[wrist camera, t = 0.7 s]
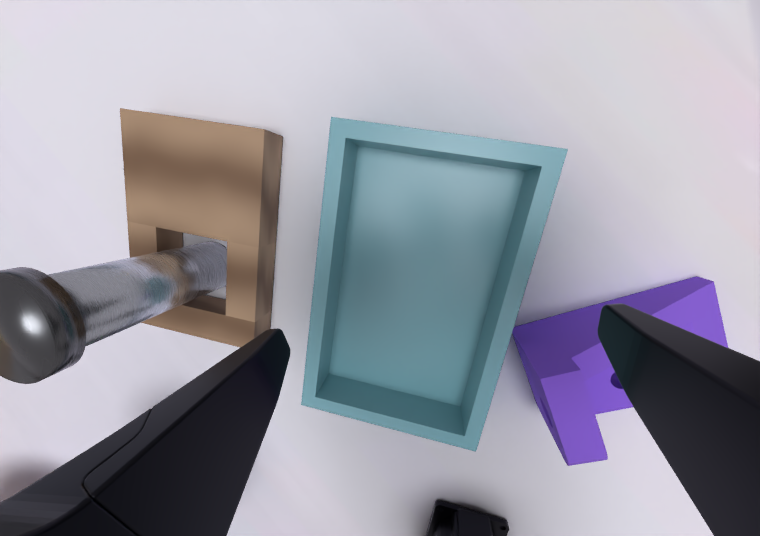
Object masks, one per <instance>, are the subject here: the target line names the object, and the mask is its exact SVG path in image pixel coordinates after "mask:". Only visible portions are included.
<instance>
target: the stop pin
mask: <svg viewBox="0 0 760 536" xmlns="http://www.w3.org/2000/svg"><path fill="white" fill-rule="evenodd" d="M226 278H227V249H226V248H225V247H224V246H223V245H221V244H219V243H216V242H205V243H200V244H195V245H190V246H185V247H180V248H176V249H171V250H166V251H161V252H156V253H151V254H146V255H142V256H137V257H132V258H127V259H122V260H117V261H112V262H108V263H103V264H98V265H93V266H88V267H83V268H79V269H74V270H69V271H64V272H59V273H54V274H49V275H46V274H45V273H43V272H40V271H38V270H35V269H32V268H26V267H18V268H12V269H7V270H1V271H0V376H2V377H4V378H6V379H8V380H11V381H13V382H17V383H23V384H31V383H36V382H39V381H41V380H43V379H45V378H47V377H49V376H51V375H53V374H56V373H58V372H60V371H62V370H64V369H66V368H68V367H70V366H73V365H74V364H75V363H77V362H78V361H79V359H80V358H81V356H82V355H83V352H84V350H85V346H88V345H90V344H92V343H95V342H97V341H99V340H102V339H104V338H106V337H108V336H111V335H113V334H115V333H118V332H120V331H122V330H125V329H127V328H129V327H131V326H134V325H136V324H138V323H141V322H143V321H145V320H147V319H150V318H152V317H154V316H157V315H159V314H161V313H164V312H166V311H168V310H170V309H173V308H175V307H177V306H180V305H182V304H184V303H187V302H189V301H191V300H193V299H196V298H198V297H200V296H203V295H205V294H207V293H210V292H212V291H214V290H216V289H219V288H221V287H223V286H226Z"/></svg>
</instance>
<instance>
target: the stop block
mask: <svg viewBox="0 0 760 536" xmlns="http://www.w3.org/2000/svg"><path fill="white" fill-rule="evenodd" d="M120 117H121V132H122V146H123V161H124V176H125V191H126V206H127V220H128V235H129V250H130V258H132V257H137V256H142V255H146V254H151V253H156V252H161V251H166V250H171V249H176V248H180V247H183V233H188V234H193V235H198V236H203V237H208V238H213V239H218V240H223V241H227V278H226V300H224V299H219V298H215V297H211V296H206V295H203V296H200V297H198V298H196V299H193V300H191V301H189V302H187V303H184V304H182V305H180V306H177V307H175V308H173V309H170V310H168V311H166V312H164V313H161V314H159V315H157V316H154V317H152V318H150V319H147V320H145V321H143V322H141V323H145V324H149V325H153V326H157V327H161V328H165V329H169V330H173V331H177V332H181V333H185V334H189V335H193V336H197V337H201V338H205V339H209V340H213V341H217V342H221V343H225V344H229V345H233V346H237V347H242V346H244V345H245V344H247V343H248V342H249V341H251V340H252V339H254V338H255V337H257V336H258V335H260V334H261V333H263V332H264V331H266V330H268V329H270V325H271V310H272V295H273V279H274V264H275V249H276V234H277V219H278V203H279V188H280V173H281V158H282V142H283V137H282V136H280V135H277V134H275V133H272V132H270V131H267V130H265V129H258V128H251V127H244V126H238V125H231V124H224V123H217V122H210V121H203V120H196V119H190V118H183V117H176V116H169V115H162V114H155V113H148V112H142V111H135V110H128V109H121V108H120Z"/></svg>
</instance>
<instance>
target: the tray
mask: <svg viewBox="0 0 760 536" xmlns="http://www.w3.org/2000/svg"><path fill="white" fill-rule="evenodd" d="M567 151H568V149H563V148H556V147H549V146H541V145H534V144H526V143H519V142H512V141H504V140H497V139H490V138H482V137H475V136H468V135H460V134H453V133H446V132H438V131H431V130H424V129H416V128H409V127H402V126H394V125H387V124H379V123H372V122H365V121H357V120H350V119H343V118H335V117H331V123H330V133H329V142H328V152H327V162H326V171H325V181H324V191H323V200H322V210H321V219H320V229H319V239H318V248H317V258H316V268H315V277H314V287H313V297H312V306H311V316H310V325H309V335H308V345H307V354H306V364H305V374H304V383H303V393H302V402H301V405H304V406H308V407H312V408H315V409H319V410H323V411H326V412H330V413H334V414H338V415H341V416H345V417H349V418H353V419H356V420H360V421H364V422H367V423H371V424H375V425H379V426H382V427H386V428H390V429H394V430H397V431H401V432H405V433H409V434H412V435H416V436H420V437H423V438H427V439H431V440H435V441H438V442H442V443H446V444H450V445H453V446H457V447H461V448H465V449H468V450H472V451H476V450H477V446H478V443H479V440H480V436H481V433H482V430H483V427H484V423H485V420H486V417H487V413H488V410H489V407H490V404H491V400H492V397H493V394H494V390H495V387H496V384H497V381H498V377H499V374H500V371H501V367H502V364H503V361H504V358H505V354H506V351H507V348H508V344H509V341H510V338H511V335H512V331H513V328H514V325H515V321H516V318H517V315H518V312H519V308H520V305H521V302H522V298H523V295H524V292H525V289H526V285H527V282H528V279H529V275H530V272H531V269H532V266H533V262H534V259H535V256H536V252H537V249H538V246H539V243H540V239H541V236H542V233H543V229H544V226H545V223H546V220H547V216H548V213H549V210H550V206H551V203H552V200H553V197H554V193H555V190H556V187H557V183H558V180H559V177H560V174H561V170H562V167H563V164H564V160H565V157H566V154H567Z"/></svg>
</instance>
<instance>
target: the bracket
mask: <svg viewBox="0 0 760 536" xmlns="http://www.w3.org/2000/svg"><path fill="white" fill-rule="evenodd" d="M619 303H622V304H626V305H628V306H630V307H633V308H635V309H637V310H640V311H642V312H645V313H647V314H649V315H652V316H654V317H656V318H659V319H661V320H663V321H666V322H668V323H670V324H673V325H675V326H677V327H680V328H682V329H685V330H687V331H689V332H692V333H694V334H696V335H699V336H701V337H703V338H706V339H708V340H710V341H713V342H715V343H717V344H720V345H722V346H725V347H727V348H728V345H727V340H726V336H725V331H724V327H723V322H722V317H721V313H720V308H719V304H718V299H717V295H716V290H715V285H714V282H713V281H710V280H707V279H704V278H700V277H693V278H689V279H686V280H682V281H679V282H675V283H671V284H668V285H664V286H661V287H657V288H653V289H650V290H646V291H643V292H639V293H635V294H632V295H628V296H624V297H621V298H617V299H614V300H610V301H606V302H603V303H599V304H596V305H592V306H588V307H585V308H581V309H577V310H574V311H570V312H567V313H563V314H559V315H556V316H552V317H549V318H545V319H541V320H538V321H534V322H530V323H527V324H523V325H520V326H516V327H514V328H513V331H512V334H513V337H514V340H515V343H516V345H517V348H518V351H519V354H520V357H521V360H522V363H523V366H524V369H525V371H526V374H527V377H528V380H529V383H530V386H531V389H532V392H533V395H534V398H535V400H536V403H537V406H538V408H539V410H540V412H541V414H542V416H543V418H544V420H545V422H546V424H547V426H548V428H549V430H550V432H551V434H552V436H553V438H554V440H555V442H556V444H557V446H558V448H559V450H560V452H561V454H562V456H563V458H564V460H565V462H566V463H567V465H568V466H570V465H576V464H582V463H589V462H595V461H602V460H607V458H608V457H607V452H606V449H605V445H604V442H603V439H602V436H601V433H600V429H599V426H598V423H597V420H596V416H595V414H599V413H604V412H610V411H615V410H620V409H625V408H630V407H633V405H632V403H631V402H630V400H629V398H628V397H627V395H626V393H625V391H624V389H623V387H622V386H621V383H620V381H619V379H618V377H617V375H616V373H614V372H615V371H614V369H613V367H612V365H611V363H610V361H609V359H608V356H607V354H606V352H605V350H604V348H603V346H602V344H601V342H600V340H599V337H598V324H599V319H600V314H601V309H602V307H603V306H604V305H606V304H619Z"/></svg>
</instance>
